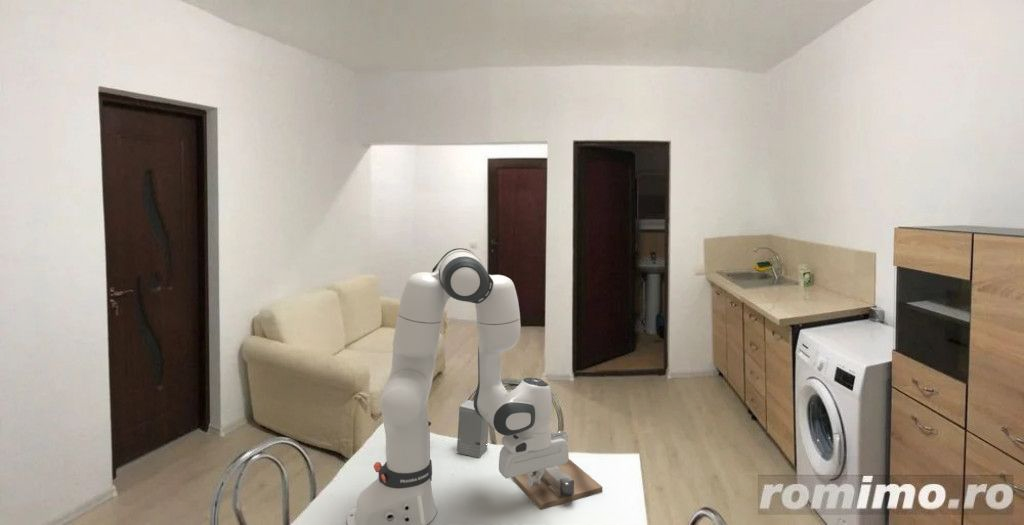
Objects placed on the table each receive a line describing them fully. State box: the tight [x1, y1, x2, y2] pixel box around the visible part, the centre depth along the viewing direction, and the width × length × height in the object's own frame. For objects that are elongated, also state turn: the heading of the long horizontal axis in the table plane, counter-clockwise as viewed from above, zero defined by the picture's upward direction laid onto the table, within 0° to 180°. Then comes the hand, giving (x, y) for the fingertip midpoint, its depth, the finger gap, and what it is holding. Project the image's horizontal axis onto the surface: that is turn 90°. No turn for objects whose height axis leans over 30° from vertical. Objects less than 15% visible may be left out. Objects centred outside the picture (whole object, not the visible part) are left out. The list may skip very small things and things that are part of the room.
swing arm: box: [542, 466, 574, 496], centre depth 152 cm, size 18×4×3 cm, turn 27°
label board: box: [510, 458, 603, 511], centre depth 156 cm, size 20×21×8 cm
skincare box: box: [456, 399, 490, 459], centre depth 173 cm, size 8×7×16 cm
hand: (534, 484), depth 148 cm, fingers closed
